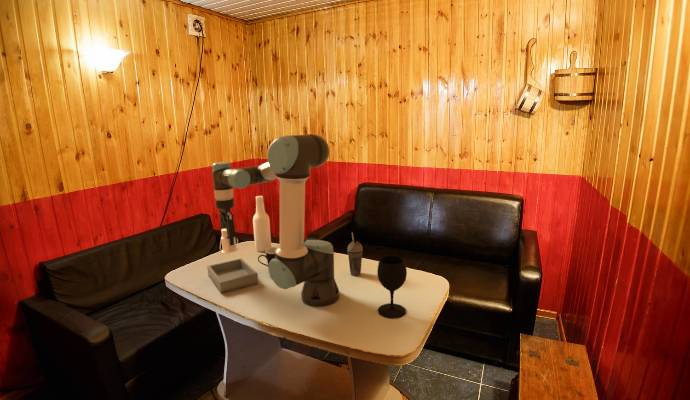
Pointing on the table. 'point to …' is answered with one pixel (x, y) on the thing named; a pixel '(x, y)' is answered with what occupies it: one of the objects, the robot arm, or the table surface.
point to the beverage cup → (355, 257)
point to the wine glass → (392, 283)
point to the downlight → (226, 241)
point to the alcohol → (261, 227)
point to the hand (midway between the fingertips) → (229, 249)
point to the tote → (232, 275)
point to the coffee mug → (268, 255)
